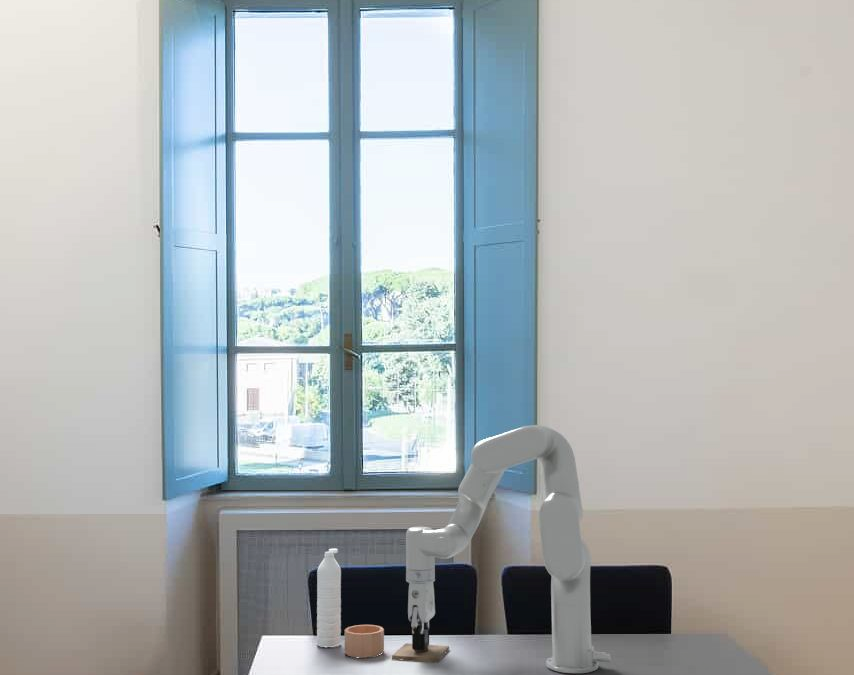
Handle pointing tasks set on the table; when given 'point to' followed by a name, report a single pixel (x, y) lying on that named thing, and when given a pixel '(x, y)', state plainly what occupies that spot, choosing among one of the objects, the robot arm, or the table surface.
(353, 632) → the bowl
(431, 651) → the lid
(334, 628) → the water bottle
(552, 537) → the robot arm
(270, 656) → the table surface
